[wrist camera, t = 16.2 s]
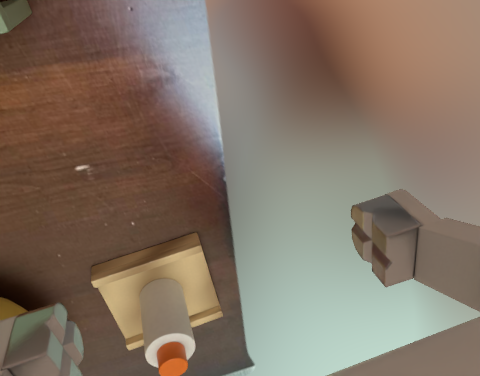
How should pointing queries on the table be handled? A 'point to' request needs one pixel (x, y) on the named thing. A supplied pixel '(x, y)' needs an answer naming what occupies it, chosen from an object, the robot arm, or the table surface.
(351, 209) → the robot arm
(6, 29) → the sage green cube
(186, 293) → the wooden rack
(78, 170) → the table surface
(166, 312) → the white bottle
